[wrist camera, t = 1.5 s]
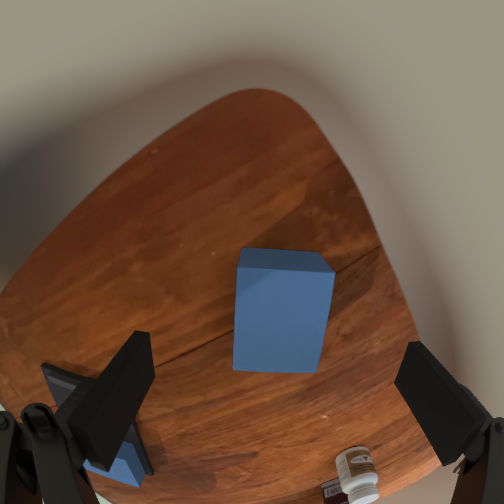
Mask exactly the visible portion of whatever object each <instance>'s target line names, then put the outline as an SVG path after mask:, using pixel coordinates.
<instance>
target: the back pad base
mask: <svg viewBox="0 0 504 504" xmlns="http://www.w3.org/2000/svg"><path fill="white" fill-rule="evenodd" d="M41 369H42V371H43V374H44V377H45V379H46V382H47V384H48V386H49V389H50V391H51V393H52V396H53V398H54V400H55V402H56V404H57V407H58V409H59V407H60V406H61V405H62V404H63V402H64V401H65V400H66V399H67V398H68V397H69V395H70V394H71V392H73V390H74V389H75V387H76V386H77V385H78V384H79V383H80V382H81V381H83V380H85V379H86V378H85V377H82V376H79V375H76V374H73V373H70V372H67V371H64V370H62V369H59V368H56V367H54V366H51V365H48V364H46V363H43V364H42V365H41ZM83 466H84V467H85V469H88V470H90V471H92V472H95V473H97V474H100V475H103V476H105V477H108V478H111V479H114V480H117V481H120V482H123V483H126V484H129V485H132V486H136V487H139V488H140V487H141V484H142V481H143V478H144V475H145V474H147V475H151V476H153V473H154V471H153V469H152V467H151V464H150V462H149V459H148V456H147V454H146V451H145V448H144V446H143V443H142V440H141V437H140V434H139V431H138V428H137V425H136V422H135V419H134V420H133V422H132V424H131V426H130V428H129V431H128V433H127V435H126V437H125V439H124V441H123V443H122V445H121V447H120V449H119V452H118V454H117V456H116V458H115V460H114V462H113V464H112V466H111V469H110V471H109V473H108V472H105V471H102V470H100V469H97V468H94V467H92V466H91V465H90V463H89V462H88V460H87V459H86V460H85V462H84V464H83Z"/></svg>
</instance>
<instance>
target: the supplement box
mask: <svg viewBox="0 0 504 504" xmlns="http://www.w3.org/2000/svg"><path fill="white" fill-rule="evenodd" d="M321 488H322V493H323V499H324V504H349V501H348V495H349V494H346V493H344V492H343V491H342V488H341V484H340V480H339V478H337V479H334V480H331V481H329V482H326V483H323V484H321Z"/></svg>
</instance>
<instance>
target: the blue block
mask: <svg viewBox="0 0 504 504" xmlns="http://www.w3.org/2000/svg"><path fill="white" fill-rule="evenodd" d="M334 280H335V272H334V271H333V270H332V268H331V267H330V266H329V265H328V264H327V262H326V261H325V260H324V259H323V258H322V257H321V255H320V254H319V253H318V252H308V251H293V250H278V249H263V248H248V247H242V250H241V254H240V258H239V262H238V266H237V278H236V299H235V323H234V348H233V370H240V371H256V372H279V373H316V372H317V368H318V364H319V360H320V355H321V351H322V346H323V341H324V336H325V331H326V326H327V321H328V316H329V310H330V304H331V299H332V293H333V286H334Z"/></svg>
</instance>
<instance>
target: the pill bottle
mask: <svg viewBox="0 0 504 504" xmlns="http://www.w3.org/2000/svg"><path fill="white" fill-rule="evenodd" d="M335 462H336V466H337V471H338V475H339V480H340V484H341V488H342V491H343V492H344V493H346V494H349V495H348V501H349V504H369V503H371V502H373V501H375V500H376V499H378V497H379V492H378V489H377V487H376V486H374V485H375V484H376V483H377V481H378V476H377V473H376V469H375V467H374V464H373V461H372V458H371V456H370V453H369V450H368V449H367V448H366V447H362V446H358V447H352V448H349V449H347V450H344V451H343V452H341V453H340V454H339V455H338V456H337V457H336V460H335Z"/></svg>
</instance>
